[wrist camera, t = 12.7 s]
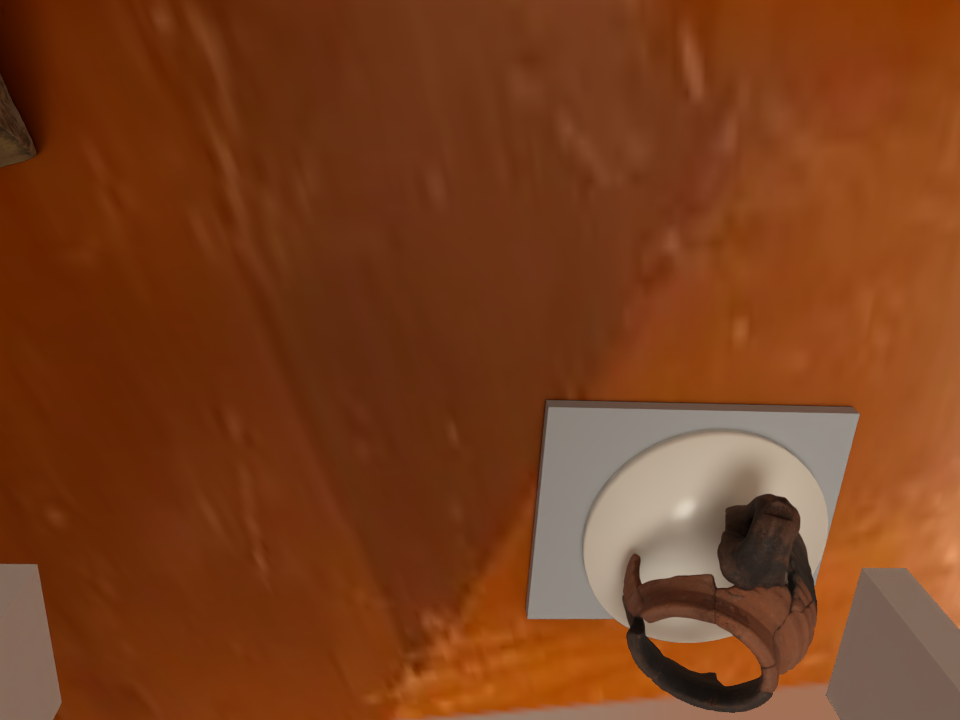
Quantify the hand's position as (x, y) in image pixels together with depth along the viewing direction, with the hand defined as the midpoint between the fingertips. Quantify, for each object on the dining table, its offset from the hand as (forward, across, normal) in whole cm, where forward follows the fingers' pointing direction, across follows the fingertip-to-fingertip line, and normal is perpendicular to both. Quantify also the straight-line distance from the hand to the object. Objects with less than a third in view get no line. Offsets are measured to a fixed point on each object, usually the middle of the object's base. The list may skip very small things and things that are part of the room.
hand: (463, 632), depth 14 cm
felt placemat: (+27, +14, -15) cm, 34 cm away
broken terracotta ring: (+25, +16, -16) cm, 34 cm away
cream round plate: (+26, +15, -16) cm, 34 cm away
